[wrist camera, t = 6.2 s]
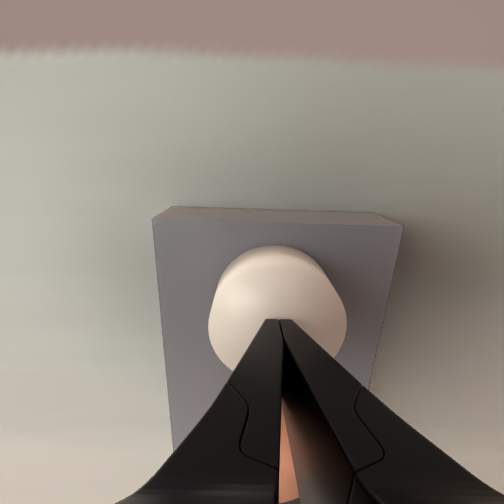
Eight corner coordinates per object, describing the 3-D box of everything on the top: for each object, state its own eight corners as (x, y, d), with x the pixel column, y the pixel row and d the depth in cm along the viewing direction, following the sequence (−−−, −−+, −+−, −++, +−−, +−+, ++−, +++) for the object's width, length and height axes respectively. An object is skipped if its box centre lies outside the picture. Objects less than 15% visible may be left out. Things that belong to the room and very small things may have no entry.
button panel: (324, 491, 18) (334, 541, 16) (190, 489, 18) (181, 538, 16) (374, 212, 12) (403, 226, 10) (171, 206, 12) (152, 218, 10)
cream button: (322, 347, 11) (336, 385, 9) (216, 344, 11) (209, 382, 9) (336, 246, 10) (356, 268, 8) (215, 243, 10) (206, 263, 8)
